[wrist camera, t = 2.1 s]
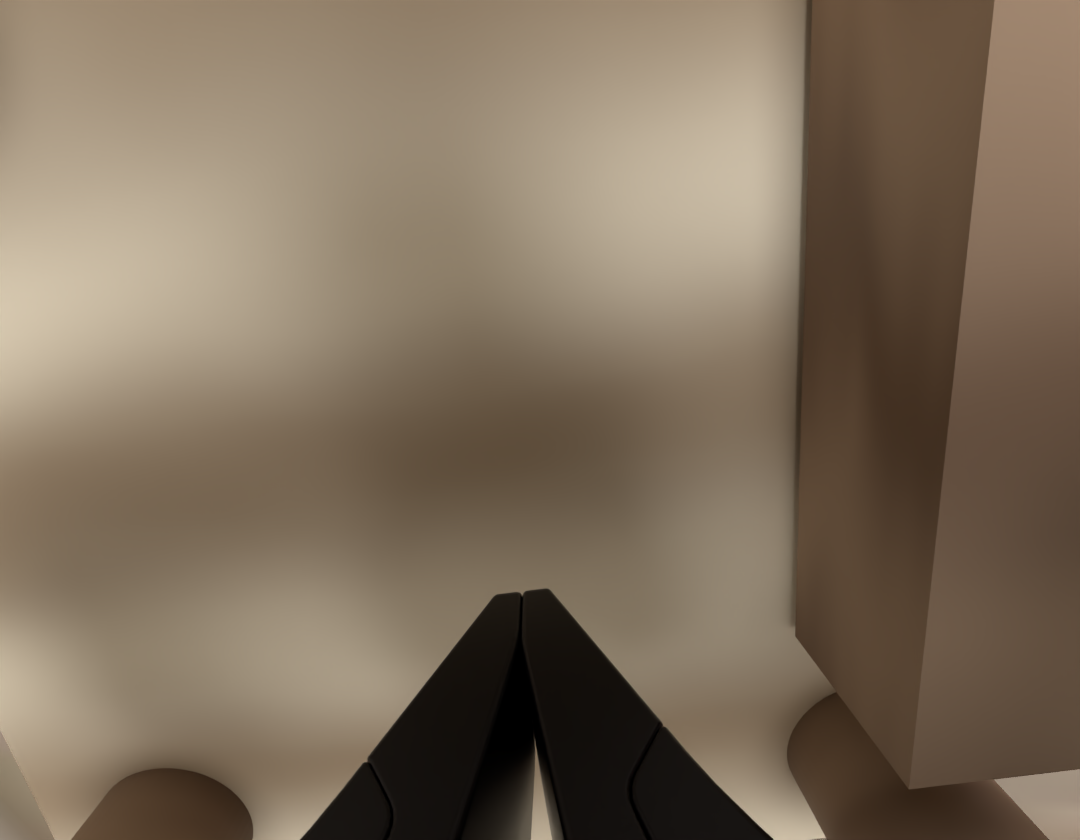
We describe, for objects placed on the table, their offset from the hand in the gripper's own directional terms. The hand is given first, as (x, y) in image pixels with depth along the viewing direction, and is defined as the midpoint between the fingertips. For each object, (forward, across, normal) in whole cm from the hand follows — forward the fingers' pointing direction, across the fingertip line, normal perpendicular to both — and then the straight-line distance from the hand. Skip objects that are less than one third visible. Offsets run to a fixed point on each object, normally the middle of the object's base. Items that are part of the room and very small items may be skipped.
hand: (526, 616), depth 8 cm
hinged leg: (+1, -6, -4) cm, 8 cm away
